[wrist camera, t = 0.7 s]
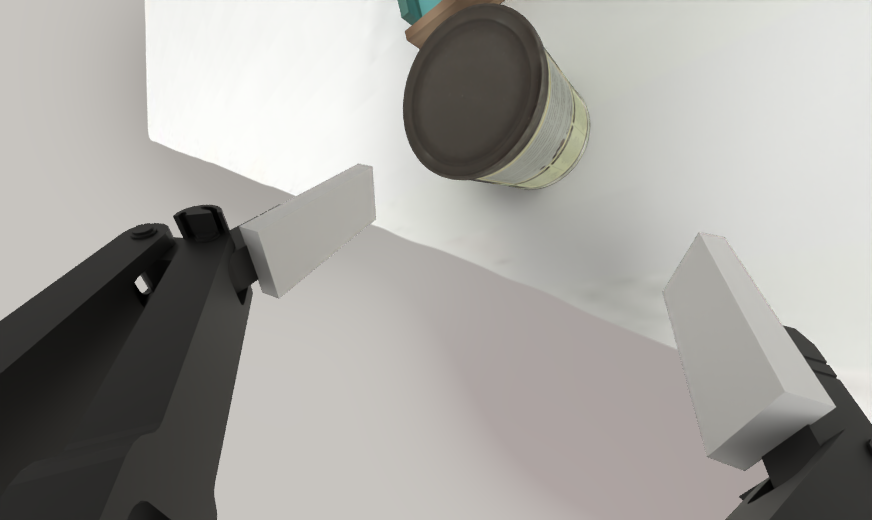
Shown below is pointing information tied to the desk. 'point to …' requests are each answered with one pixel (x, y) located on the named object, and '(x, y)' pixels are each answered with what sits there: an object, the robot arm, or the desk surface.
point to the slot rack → (431, 15)
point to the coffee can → (493, 103)
